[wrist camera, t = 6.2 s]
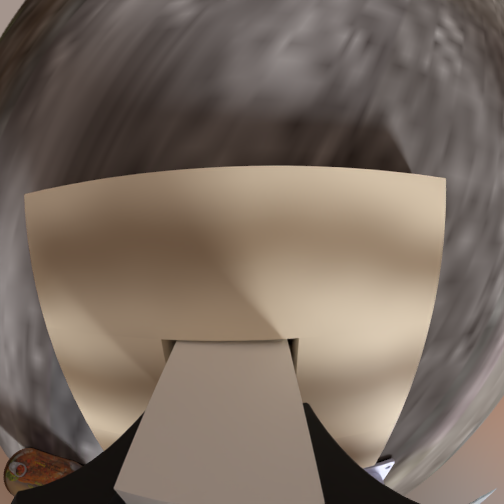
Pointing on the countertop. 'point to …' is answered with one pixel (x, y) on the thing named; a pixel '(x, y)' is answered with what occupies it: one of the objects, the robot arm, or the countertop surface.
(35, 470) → the tin
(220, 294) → the socket plate
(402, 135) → the countertop surface
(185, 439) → the keyed peg
